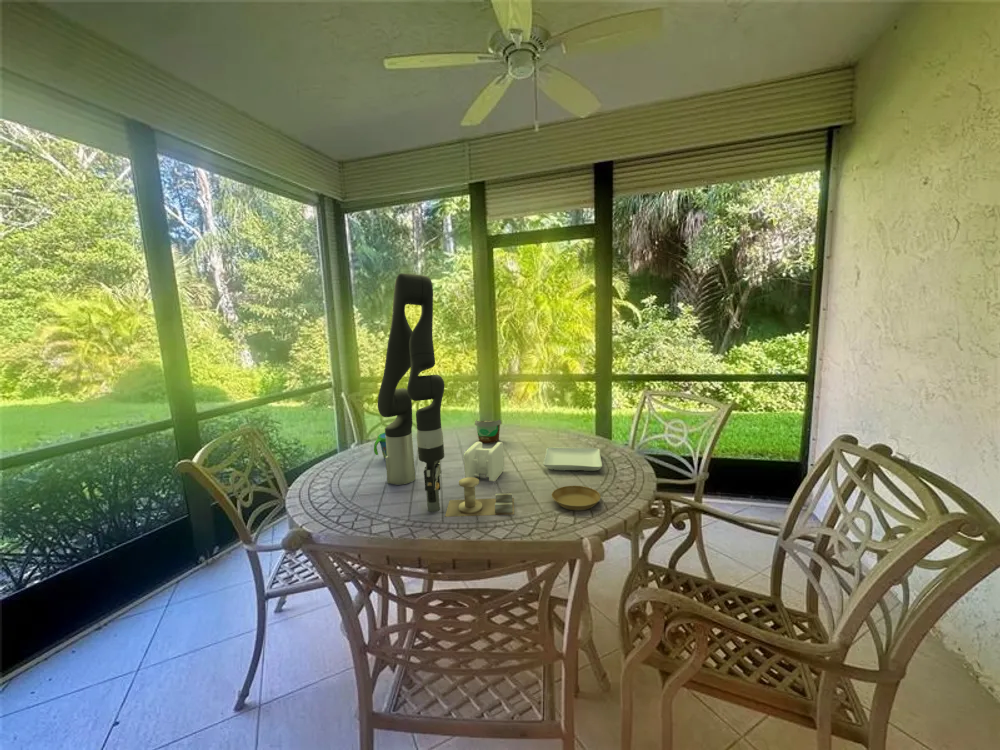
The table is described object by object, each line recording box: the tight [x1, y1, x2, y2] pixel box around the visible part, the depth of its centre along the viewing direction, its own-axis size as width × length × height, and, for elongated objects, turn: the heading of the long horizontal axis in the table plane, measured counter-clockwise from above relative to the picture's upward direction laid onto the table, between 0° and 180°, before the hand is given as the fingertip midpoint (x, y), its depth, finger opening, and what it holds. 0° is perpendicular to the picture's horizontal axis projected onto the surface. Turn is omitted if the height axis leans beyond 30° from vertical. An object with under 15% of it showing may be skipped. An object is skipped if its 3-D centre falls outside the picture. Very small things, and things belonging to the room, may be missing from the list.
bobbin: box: [458, 477, 482, 513], centre depth 129 cm, size 7×7×8 cm
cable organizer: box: [462, 441, 505, 482], centre depth 156 cm, size 15×11×12 cm
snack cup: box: [373, 432, 387, 460], centre depth 181 cm, size 16×11×10 cm
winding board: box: [444, 492, 515, 518], centre depth 130 cm, size 20×11×4 cm, turn 89°
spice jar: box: [425, 482, 441, 513], centre depth 129 cm, size 4×4×9 cm
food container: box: [474, 419, 502, 444], centre depth 197 cm, size 12×6×10 cm, turn 80°
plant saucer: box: [551, 485, 601, 512], centre depth 133 cm, size 15×15×3 cm
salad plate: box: [542, 446, 603, 472], centre depth 166 cm, size 21×21×3 cm
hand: (434, 495), depth 129 cm, fingers open, 8 cm apart
